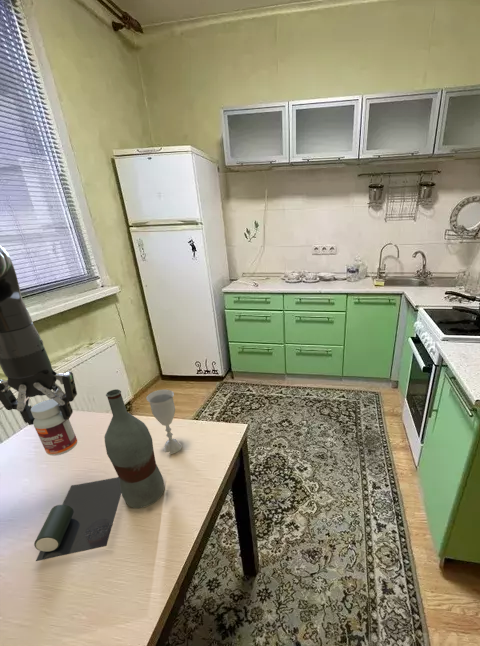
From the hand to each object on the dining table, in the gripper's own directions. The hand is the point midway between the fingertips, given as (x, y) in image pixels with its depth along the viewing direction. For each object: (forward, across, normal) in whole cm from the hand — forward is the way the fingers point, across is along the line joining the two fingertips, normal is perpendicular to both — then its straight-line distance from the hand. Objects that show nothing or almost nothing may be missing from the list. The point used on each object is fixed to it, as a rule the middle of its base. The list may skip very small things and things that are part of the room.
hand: (50, 419), depth 70 cm
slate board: (+23, +3, -7) cm, 24 cm away
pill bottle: (+8, 0, 0) cm, 8 cm away
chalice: (+23, +20, +12) cm, 33 cm away
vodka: (+23, +15, -5) cm, 28 cm away
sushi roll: (+21, -2, -12) cm, 24 cm away
